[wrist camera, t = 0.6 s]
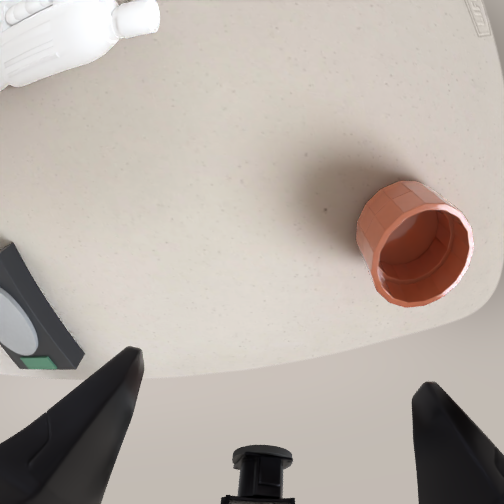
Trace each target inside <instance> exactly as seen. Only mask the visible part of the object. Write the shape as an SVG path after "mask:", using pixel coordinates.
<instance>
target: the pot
mask: <svg viewBox="0 0 504 504" xmlns="http://www.w3.org/2000/svg"><path fill="white" fill-rule="evenodd" d="M356 242H357V245H358V248H359V250H360V253H361V256H362V258H363V260H364V263H365V265H366V267H367V269H368V272H369V274H370V276H371V279H372V281H373V283H374V286H375V288H376V290H377V291H378V292H379V293H380V294H381V295H382V296H383V297H384V298H385V299H386V300H387V301H388V302H390V303H392V304H396V305H399V306H403V307H416V306H424V305H427V304H429V303H431V302H434V301H436V300H438V299H440V298H442V297H444V296H445V295H446V294H447V293H448V292H449V291H450V290H452V289H453V288H454V287H455V286H456V285H457V284H458V283H459V282H460V280H461V278H462V277H463V275H464V274H465V272H466V270H467V269H468V267H469V265H470V261H471V257H472V253H473V249H474V241H473V232H472V227H471V225H470V224H469V222H468V220H467V219H466V217H465V216H464V214H463V213H462V212H461V211H460V210H459V209H458V208H456V207H455V206H454V205H453V204H452V203H450V202H449V201H448V200H446V199H445V198H444V197H443V196H441V195H440V194H439V193H437V192H436V191H435V190H433V189H432V188H430V187H428V186H426V185H424V184H422V183H420V182H418V181H398V182H396V183H394V184H391V185H389V186H386V187H384V188H382V189H380V190H379V191H378V192H377V193H376V194H375V195H374V196H373V197H372V198H371V199H370V200H369V201H368V202H367V204H365V206H364V208H363V210H362V213H361V215H360V217H359V219H358V222H357V232H356Z"/></svg>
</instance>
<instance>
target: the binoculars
mask: <svg viewBox="0 0 504 504" xmlns="http://www.w3.org/2000/svg"><path fill="white" fill-rule="evenodd" d="M159 25H160V12H159V7H158V4H157V2H156V0H135V1H131V2H126V3H123V4H121V5H120V6H119V5H118V3H117V2H116V1H115V0H0V91H2V90H3V89H4V88H5V87H7V86H8V85H12V86H15V87H22V86H25V85H28V84H30V83H33V82H35V81H38V80H40V79H43V78H46V77H48V76H51V75H54V74H57V73H60V72H63V71H66V70H69V69H72V68H75V67H78V66H82V65H85V64H88V63H91V62H93V61H95V60H96V59H98V58H100V57H101V56H103V55H105V54H106V53H107V52H108V51H109V50H110V49H111V48H112V47H113V46H114V45H115V44H116V43H117V42H118V41H119V39H122V38H126V39H129V38H133V37H135V36H140V35H145V34H150V33H155V32H156V31H157V30H158V28H159Z"/></svg>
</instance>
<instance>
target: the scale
mask: <svg viewBox="0 0 504 504" xmlns="http://www.w3.org/2000/svg"><path fill="white" fill-rule="evenodd" d="M0 345H1V346H2V347H3V349H4V350H5V351H6V353H7V354H8V355H9V356H10V358H11V359H12V360H13V361H14V362H15V364H16V365H17V366H18V367H19V368H20V369H76V368H77V367H78V365H79V363H80V361H81V360H82V358H83V356H84V352H83V351H82V350H81V348H80V347H79V346H78V344H77V343H76V342H75V340H74V339H73V338H72V336H71V335H70V334H69V332H68V331H67V329H66V328H65V327H64V325H63V324H62V322H61V321H60V320H59V318H58V317H57V315H56V314H55V312H54V311H53V309H52V308H51V306H50V305H49V303H48V302H47V300H46V299H45V297H44V295H43V294H42V292H41V291H40V289H39V287H38V286H37V284H36V283H35V281H34V279H33V278H32V276H31V274H30V272H29V271H28V269H27V267H26V265H25V264H24V262H23V260H22V258H21V256H20V255H19V253H18V251H17V249H16V247H15V245H14V243H11V244H9V245H8V246H6V247H4V248H2V249H0Z"/></svg>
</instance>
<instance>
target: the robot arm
mask: <svg viewBox="0 0 504 504" xmlns="http://www.w3.org/2000/svg"><path fill="white" fill-rule="evenodd" d="M143 373H144V361H143V354H142V350H141V349H139V348H136V347H132V346H128V347H126V348H125V349H124V350H122V351H121V352H120V353H119V354H117V355H116V356H115V357H114V358H112V359H111V360H110V361H109V362H107V363H106V364H105V365H104V366H102V367H101V368H100V369H99V370H97V371H96V372H95V373H94V374H92V375H91V376H90V377H89V378H88V379H86V380H85V381H84V382H83V383H81V384H80V385H79V386H78V387H76V388H75V389H74V390H73V391H71V392H70V393H69V394H68V395H67V396H65V397H64V398H63V399H61V400H60V401H59V402H58V403H56V404H55V405H54V406H53V407H51V408H50V409H49V410H48V411H47V413H44V414H43V415H42V416H40V417H39V418H38V419H36V420H35V421H34V422H32V423H31V424H30V425H28V426H27V427H26V428H24V429H23V430H21V431H20V432H18V433H17V434H15V435H14V436H12V437H10V438H9V439H7V440H6V441H4V442H2V443H1V444H0V504H101V501H102V498H103V495H104V492H105V489H106V487H107V484H108V481H109V478H110V475H111V472H112V470H113V467H114V464H115V461H116V459H117V456H118V453H119V450H120V447H121V445H122V442H123V440H124V437H125V434H126V431H127V429H128V426H129V424H130V421H131V418H132V415H133V412H134V408H135V404H136V400H137V396H138V392H139V388H140V384H141V381H142V377H143ZM412 417H413V442H414V451H415V460H416V470H417V483H418V498H419V504H504V455H503V454H502V453H501V452H500V451H499V449H498V448H497V447H495V445H494V444H493V443H492V442H491V441H490V439H488V437H487V436H486V435H485V434H484V433H483V432H482V431H481V430H480V428H479V427H478V426H477V425H476V424H475V423H474V422H473V421H472V420H471V419H470V418H469V417H468V415H467V414H465V412H464V411H463V410H462V409H461V408H460V407H459V406H458V405H457V404H456V403H455V402H454V401H453V400H452V399H451V397H450V396H449V395H448V394H446V392H445V391H444V390H443V389H442V388H441V387H440V386H439V385H438V384H437V383H436V382H425V383H423V384H422V386H421V387H420V388H419V389H418V391H417V392H416V393H415V395H414V396H413V398H412ZM292 461H293V459H292V458H289V457H281V456H274V455H267V454H260V453H254V452H245V453H244V454H243V455H242V456H241V458H240V459H239V460H238V461H237V462H236V463H235V464H234V467H233V468H234V469H238V470H240V479H239V488H238V496H230V495H226V497H222V498H221V504H295V498H286V499H285V498H284V499H283V498H282V495H283V494H282V493H283V469H284V468H285V467H287V466H288V465H289V464H290V463H292Z"/></svg>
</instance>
